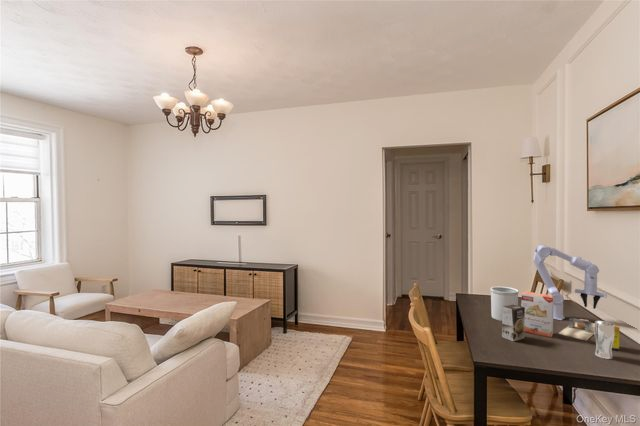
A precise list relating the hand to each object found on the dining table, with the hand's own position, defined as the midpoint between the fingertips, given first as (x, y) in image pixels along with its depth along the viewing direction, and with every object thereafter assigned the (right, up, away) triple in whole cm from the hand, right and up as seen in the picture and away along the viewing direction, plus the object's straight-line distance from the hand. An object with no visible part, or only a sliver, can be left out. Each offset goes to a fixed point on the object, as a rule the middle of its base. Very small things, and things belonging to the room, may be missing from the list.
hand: (590, 307), depth 196 cm
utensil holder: (-47, -8, +6) cm, 48 cm away
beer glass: (-30, -10, -44) cm, 54 cm away
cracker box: (-42, -9, -17) cm, 47 cm away
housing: (-16, -8, -12) cm, 22 cm away
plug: (-9, -8, -7) cm, 14 cm away
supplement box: (-19, -10, -35) cm, 41 cm away
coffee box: (-59, -9, -24) cm, 64 cm away
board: (-15, -9, -12) cm, 21 cm away
